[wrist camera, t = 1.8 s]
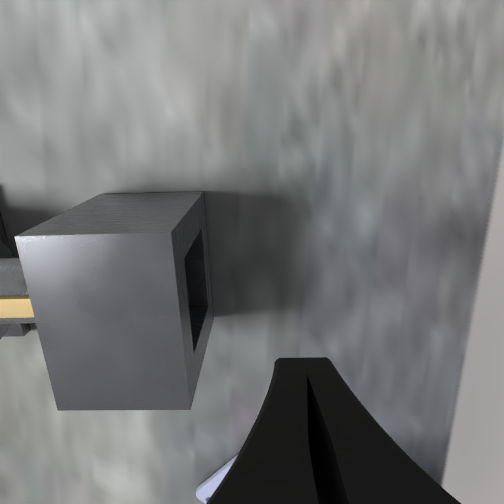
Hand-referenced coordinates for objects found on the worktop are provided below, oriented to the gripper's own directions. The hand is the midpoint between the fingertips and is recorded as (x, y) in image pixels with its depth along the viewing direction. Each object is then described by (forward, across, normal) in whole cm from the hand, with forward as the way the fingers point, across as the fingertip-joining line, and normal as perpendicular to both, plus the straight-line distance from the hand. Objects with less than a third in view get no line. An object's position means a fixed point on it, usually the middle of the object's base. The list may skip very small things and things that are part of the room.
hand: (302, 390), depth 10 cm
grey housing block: (+10, +6, 0) cm, 12 cm away
